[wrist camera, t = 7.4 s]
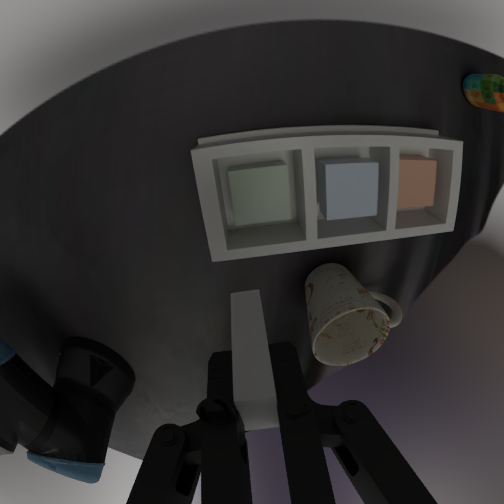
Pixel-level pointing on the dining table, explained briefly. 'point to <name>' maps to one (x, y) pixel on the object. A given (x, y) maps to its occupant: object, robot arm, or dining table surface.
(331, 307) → the mug
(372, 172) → the key
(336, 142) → the three-slot tray
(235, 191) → the key
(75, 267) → the dining table surface
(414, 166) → the key
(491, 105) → the jar
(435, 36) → the dining table surface
